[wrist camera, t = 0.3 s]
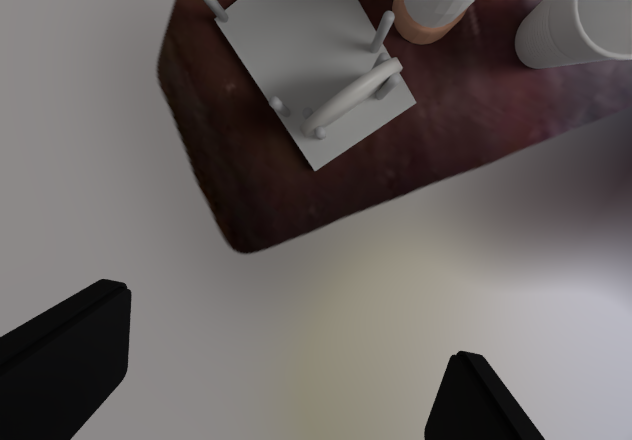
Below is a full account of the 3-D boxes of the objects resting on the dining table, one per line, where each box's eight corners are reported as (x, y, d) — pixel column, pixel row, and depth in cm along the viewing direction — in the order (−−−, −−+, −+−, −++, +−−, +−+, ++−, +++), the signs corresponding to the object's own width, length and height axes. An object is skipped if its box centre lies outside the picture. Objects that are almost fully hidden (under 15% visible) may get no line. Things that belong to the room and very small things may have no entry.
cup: (481, 20, 33) (554, -41, 22) (571, -31, 32) (695, -124, 21) (513, 104, 35) (595, 83, 24) (599, 58, 33) (727, 15, 23)
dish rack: (319, -60, 32) (314, -186, 20) (413, 104, 35) (457, 80, 23) (218, 23, 34) (158, -44, 22) (315, 170, 38) (309, 180, 26)
